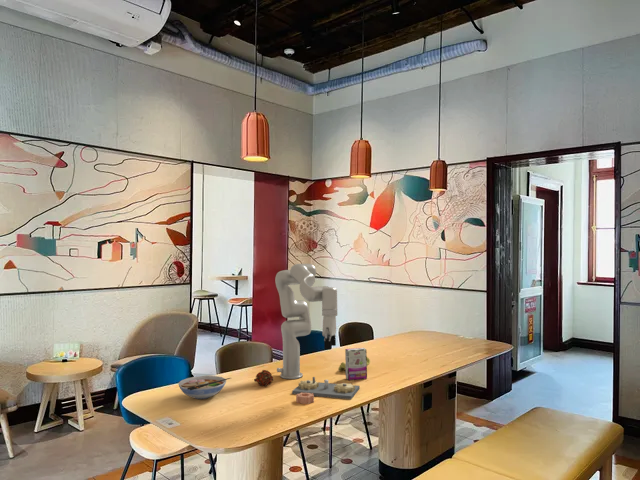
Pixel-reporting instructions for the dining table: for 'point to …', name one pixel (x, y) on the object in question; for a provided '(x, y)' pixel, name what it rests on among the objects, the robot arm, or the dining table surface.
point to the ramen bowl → (202, 386)
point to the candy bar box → (356, 363)
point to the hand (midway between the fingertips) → (330, 347)
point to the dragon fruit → (264, 378)
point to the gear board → (327, 389)
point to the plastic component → (343, 365)
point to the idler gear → (305, 398)
